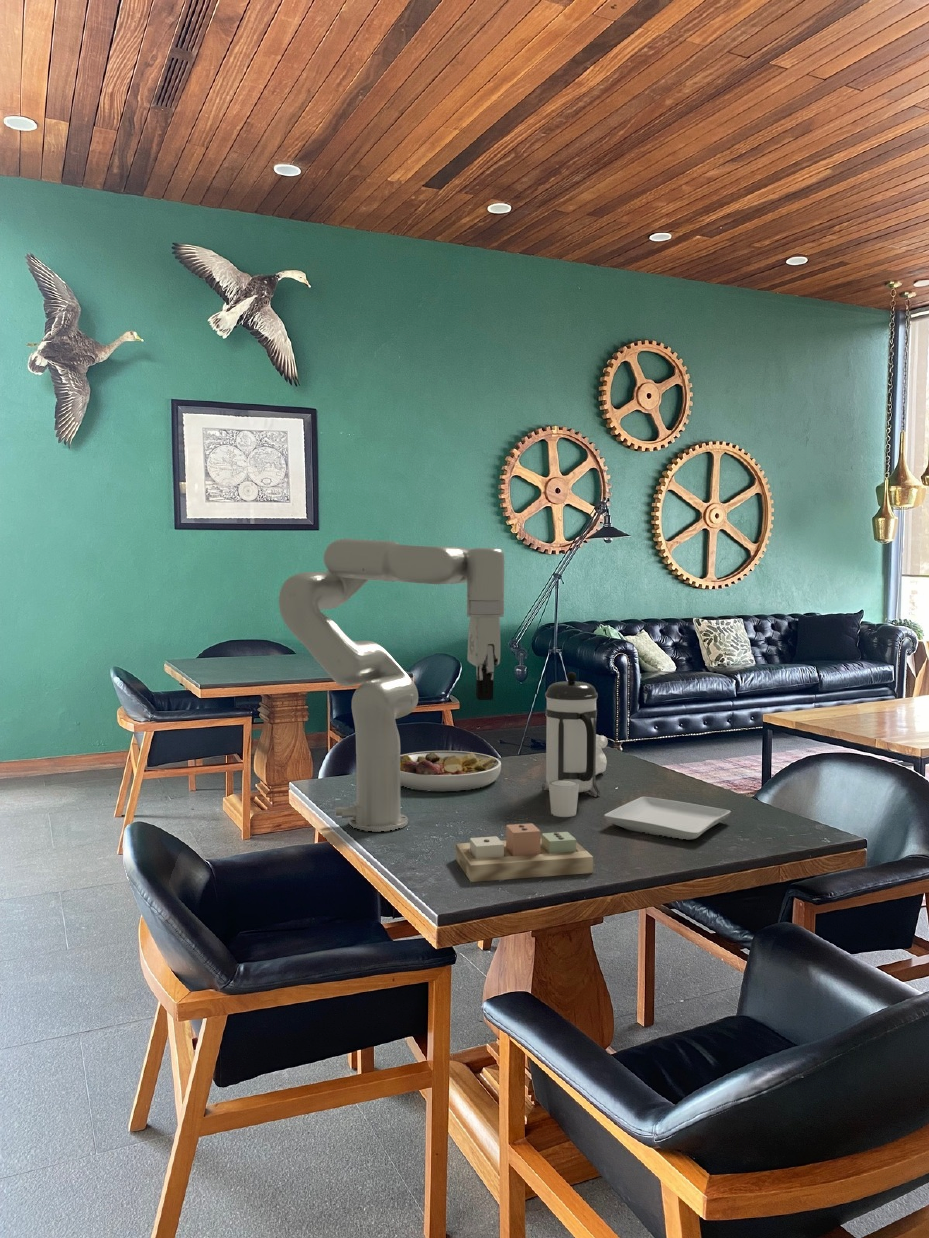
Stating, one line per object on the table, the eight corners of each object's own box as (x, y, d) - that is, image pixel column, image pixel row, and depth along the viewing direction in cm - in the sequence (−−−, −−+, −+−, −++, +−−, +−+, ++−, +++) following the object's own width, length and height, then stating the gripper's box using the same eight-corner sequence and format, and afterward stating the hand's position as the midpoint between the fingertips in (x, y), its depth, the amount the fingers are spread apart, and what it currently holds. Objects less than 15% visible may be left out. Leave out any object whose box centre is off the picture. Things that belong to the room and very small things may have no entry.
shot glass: (577, 818, 207) (577, 787, 207) (546, 816, 208) (546, 785, 208) (580, 810, 214) (580, 780, 213) (550, 808, 215) (550, 778, 215)
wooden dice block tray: (470, 881, 166) (470, 865, 166) (455, 859, 179) (455, 843, 179) (593, 872, 171) (593, 856, 171) (570, 851, 184) (570, 836, 183)
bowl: (410, 765, 262) (410, 737, 261) (513, 772, 253) (513, 744, 252) (367, 790, 233) (366, 759, 233) (481, 799, 224) (481, 767, 224)
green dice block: (549, 867, 173) (549, 840, 173) (541, 859, 178) (541, 832, 178) (576, 865, 174) (576, 838, 174) (567, 857, 179) (567, 830, 179)
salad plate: (732, 823, 204) (732, 808, 204) (697, 848, 187) (698, 831, 187) (642, 809, 216) (642, 794, 216) (601, 830, 199) (601, 814, 199)
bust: (603, 785, 246) (627, 750, 247) (582, 769, 244) (607, 734, 245) (585, 775, 258) (608, 742, 259) (565, 760, 256) (588, 726, 257)
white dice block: (476, 873, 170) (476, 845, 170) (469, 864, 175) (469, 836, 175) (503, 871, 171) (503, 843, 171) (496, 862, 176) (496, 835, 176)
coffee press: (526, 796, 227) (527, 673, 225) (557, 783, 240) (558, 667, 238) (591, 806, 217) (592, 678, 215) (620, 792, 230) (621, 671, 228)
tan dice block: (513, 859, 172) (513, 831, 171) (505, 850, 177) (506, 823, 176) (540, 857, 173) (540, 829, 172) (532, 849, 178) (532, 822, 178)
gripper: (459, 607, 195) (459, 694, 196) (475, 611, 180) (474, 705, 182) (494, 607, 197) (493, 693, 198) (512, 611, 182) (511, 704, 183)
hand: (484, 699), depth 190 cm, fingers closed
